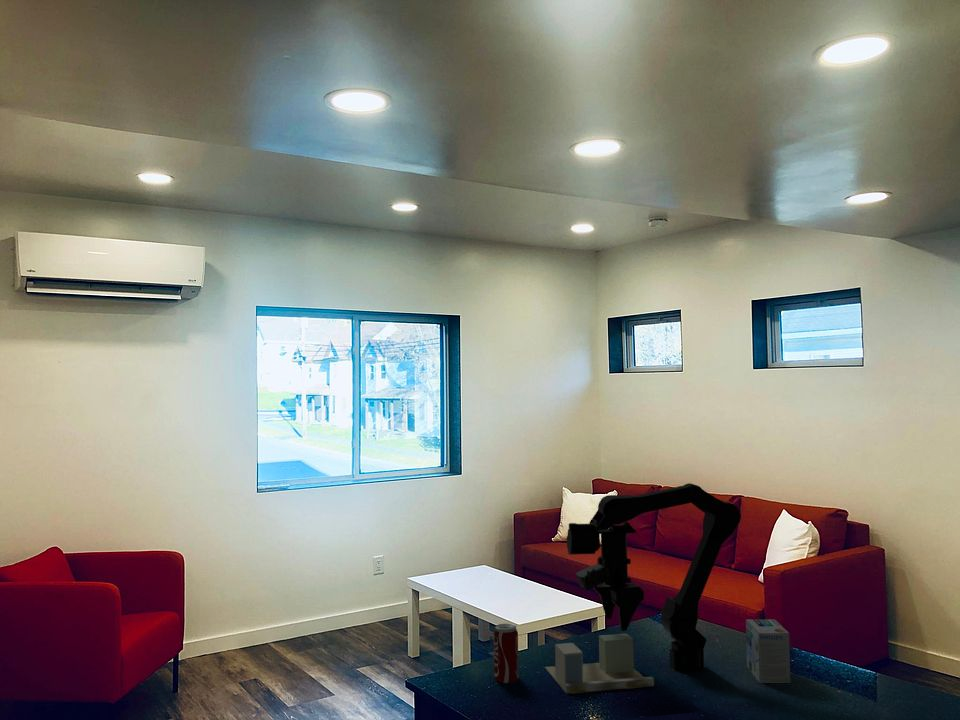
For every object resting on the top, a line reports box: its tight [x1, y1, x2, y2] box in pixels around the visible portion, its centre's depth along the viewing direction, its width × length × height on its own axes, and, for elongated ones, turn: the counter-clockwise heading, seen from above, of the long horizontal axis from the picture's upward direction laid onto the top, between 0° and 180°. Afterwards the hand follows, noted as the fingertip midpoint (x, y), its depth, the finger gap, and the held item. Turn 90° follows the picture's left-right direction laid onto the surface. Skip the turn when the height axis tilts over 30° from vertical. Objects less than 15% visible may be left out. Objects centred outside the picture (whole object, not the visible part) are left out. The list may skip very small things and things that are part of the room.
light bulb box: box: [745, 618, 791, 684], centre depth 167 cm, size 11×7×11 cm, turn 175°
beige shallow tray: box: [544, 662, 655, 694], centre depth 165 cm, size 19×16×2 cm
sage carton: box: [598, 633, 635, 674], centre depth 169 cm, size 4×7×7 cm, turn 101°
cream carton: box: [554, 642, 584, 688], centre depth 161 cm, size 4×7×7 cm, turn 11°
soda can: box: [493, 623, 519, 684], centre depth 164 cm, size 5×5×12 cm
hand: (616, 624), depth 169 cm, fingers open, 9 cm apart
